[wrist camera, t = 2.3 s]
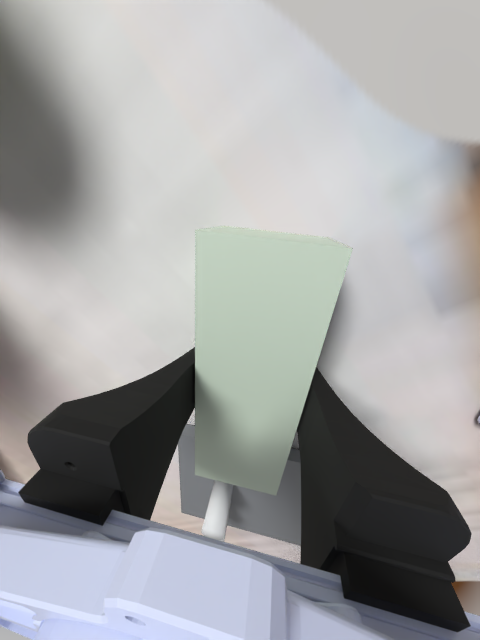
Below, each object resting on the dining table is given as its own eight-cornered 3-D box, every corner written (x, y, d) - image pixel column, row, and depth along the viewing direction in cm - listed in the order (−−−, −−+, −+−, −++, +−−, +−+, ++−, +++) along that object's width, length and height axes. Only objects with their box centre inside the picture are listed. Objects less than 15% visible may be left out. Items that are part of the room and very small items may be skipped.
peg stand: (422, 477, 15) (472, 568, 11) (364, 549, 21) (384, 629, 17) (183, 423, 18) (153, 483, 14) (185, 501, 23) (164, 561, 19)
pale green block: (224, 225, 11) (195, 229, 7) (328, 237, 10) (352, 248, 7) (213, 420, 17) (194, 475, 13) (277, 434, 16) (276, 495, 13)
